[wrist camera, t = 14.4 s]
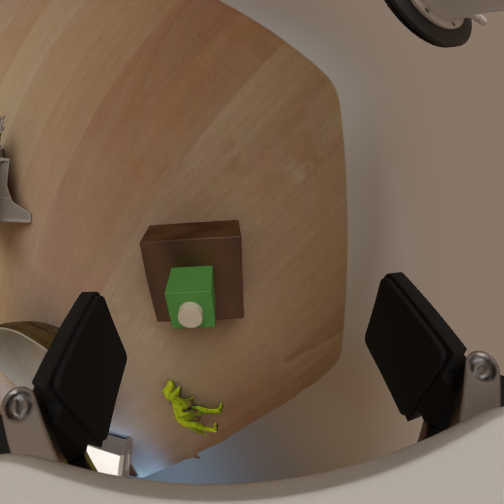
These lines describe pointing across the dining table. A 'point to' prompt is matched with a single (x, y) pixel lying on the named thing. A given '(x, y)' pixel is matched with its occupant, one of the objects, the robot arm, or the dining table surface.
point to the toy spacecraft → (3, 203)
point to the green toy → (191, 297)
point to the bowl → (24, 350)
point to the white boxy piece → (112, 456)
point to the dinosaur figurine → (188, 410)
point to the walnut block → (196, 261)
